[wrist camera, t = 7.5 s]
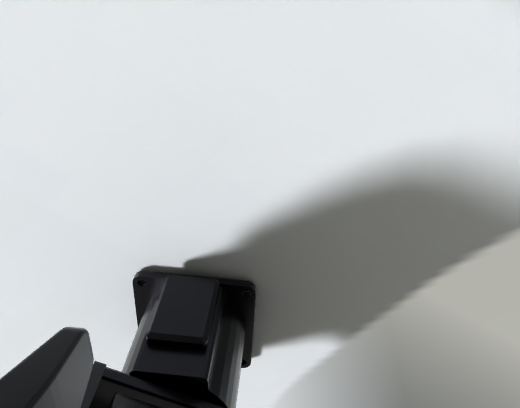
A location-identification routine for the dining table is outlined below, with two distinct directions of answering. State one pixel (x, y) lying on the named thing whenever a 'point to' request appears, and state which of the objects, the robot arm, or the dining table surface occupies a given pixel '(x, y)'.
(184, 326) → the robot arm
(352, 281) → the dining table surface
